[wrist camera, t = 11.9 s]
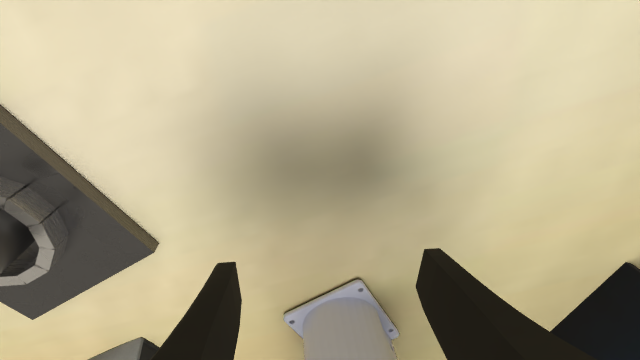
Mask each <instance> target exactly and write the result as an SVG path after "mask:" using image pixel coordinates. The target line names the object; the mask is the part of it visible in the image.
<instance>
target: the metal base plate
mask: <svg viewBox="0 0 640 360" xmlns="http://www.w3.org/2000/svg"><path fill="white" fill-rule="evenodd" d="M0 208H2V209H3V210H5V211H6V212H7V213H9V214H10V215H12V216H13V217H15V218H16V219H17V220H19V221H20V222H22V223H23V224H24V225H26V226H27V227H28V228H29V230H30V232H31V234H32V235H33V237H34V239H35V241H34V242H33V243H32V244H31V245H30V246H29V247H28V248H27V249H26V250H25V251H24V252H23V253H22V254H21V255H20V256H19V257H17V258H16V259H15V260H14V261H13V262H12V263H11V264H10V265H9V266H8V267H7V268H6V269H5V270H4V271H3V272H2V273H1V274H0V302H2V303H3V304H5V305H7V306H9V307H10V308H12V309H14V310H16V311H18V312H19V313H21V314H23V315H25V316H27V317H28V318H30V319H32V320H34V319H35V318H37V317H39V316H41V315H43V314H44V313H46V312H48V311H50V310H52V309H53V308H55V307H57V306H59V305H61V304H62V303H64V302H66V301H68V300H70V299H71V298H73V297H75V296H77V295H79V294H80V293H82V292H84V291H86V290H88V289H89V288H91V287H93V286H95V285H97V284H98V283H100V282H102V281H104V280H106V279H107V278H109V277H111V276H113V275H115V274H116V273H118V272H120V271H122V270H124V269H125V268H127V267H129V266H131V265H133V264H134V263H136V262H138V261H140V260H142V259H143V258H145V257H147V256H149V255H151V254H152V253H154V252H155V250H156V248H157V246H158V244H159V243H158V242H157V241H156V240H155V239H153V238H152V237H151V236H150V235H149V234H148V233H147V232H145V231H144V230H143V229H142V228H141V227H140V226H138V225H137V224H136V223H135V222H134V221H133V220H132V219H130V218H129V217H128V216H127V215H126V214H125V213H124V212H122V211H121V210H120V209H119V208H118V207H117V206H115V205H114V204H113V203H112V202H111V201H110V200H109V199H107V198H106V197H105V196H104V195H103V194H102V193H101V192H99V191H98V190H97V189H96V188H95V187H94V186H93V185H91V184H90V183H89V182H88V181H87V180H86V179H84V178H83V177H82V176H81V175H80V174H79V173H78V172H76V171H75V170H74V169H73V168H72V167H71V166H70V165H68V164H67V163H66V162H65V161H64V160H63V159H61V158H60V157H59V156H58V155H57V154H56V153H55V152H53V151H52V150H51V149H50V148H49V147H48V146H47V145H45V144H44V143H43V142H42V141H41V140H40V139H39V138H37V137H36V136H35V135H34V134H33V133H32V132H30V131H29V130H28V129H27V128H26V127H25V126H24V125H22V124H21V123H20V122H19V121H18V120H17V119H16V118H14V117H13V116H12V115H11V114H10V113H9V112H7V111H6V110H5V109H4V108H3V107H2V106H1V105H0Z"/></svg>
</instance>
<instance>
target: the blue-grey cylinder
mask: <svg viewBox="0 0 640 360" xmlns="http://www.w3.org/2000/svg"><path fill="white" fill-rule="evenodd" d="M34 241H35V239H34V237H33V235H32V234H31V232H30V230H29V228H28V227H27V226H26V225H24V224H23V223H22V222H20V221H19V220H17V219H16V218H15V217H13V216H12V215H10V214H9V213H7V212H6V211H5V210H3V209H2V208H0V274H1V273H2V272H3V271H4V270H5V269H6V268H7V267H8V266H9V265H10V264H11V263H12V262H13V261H14V260H15V259H16V258H17V257H19V256H20V255H21V254H22V253H23V252H24V251H25V250H26V249H27V248H28V247H29V246H30V245H31V244H32V243H33V242H34Z"/></svg>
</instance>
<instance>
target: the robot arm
mask: <svg viewBox="0 0 640 360" xmlns="http://www.w3.org/2000/svg"><path fill="white" fill-rule="evenodd" d="M359 288H360V289H359ZM416 289H417V292H418V295H419V298H420V301H421V304H422V307H423V310H424V312H425V315H426V317H427V319H428V321H429V323H430V325H431V327H432V329H433V331H434V334H435V336H436V338H437V340H438V342H439V344H440V346H441V348H442V350H443V352H444V354H445V356H446V358H447V360H597V359H595V358H594V357H592V356H590V355H588V354H586V353H585V352H583V351H581V350H579V349H578V348H576V347H574V346H572V345H571V344H569V343H567V342H565V341H564V340H562V339H560V338H559V337H557V336H556V335H554V334H552V333H551V332H549V331H548V330H546V329H544V328H543V327H541V326H540V325H538V324H537V323H535V322H534V321H532V320H531V319H529V318H528V317H526V316H525V315H523V314H522V313H520V312H519V311H518V310H516V309H515V308H513V307H512V306H511V305H509V304H508V303H507V302H505V301H504V300H503V299H501V298H500V297H499V296H497V295H496V294H495V293H493V292H492V291H491V290H489V289H488V288H487V287H486V286H484V285H483V284H482V283H481V282H479V281H478V280H477V279H476V278H475V277H473V276H472V275H471V274H470V273H469V272H467V271H466V270H465V269H464V268H463V267H461V266H460V265H459V264H458V263H457V262H455V261H454V260H453V259H452V258H451V257H449V256H448V255H447V254H446V253H445V252H443V251H442V250H441V249H440V248H437V249H424V253H423V257H422V261H421V266H420V270H419V274H418V278H417V283H416ZM241 302H242V299H241V293H240V287H239V281H238V275H237V268H236V262H226V263H218V264H217V265H216V266H215V268H214V270H213V271H212V273H211V275H210V277H209V278H208V280H207V282H206V283H205V285H204V286H203V288H202V290H201V291H200V293H199V294H198V296H197V297H196V299H195V300H194V302H193V303H192V305H191V306H190V308H189V309H188V311H187V312H186V314H185V315H184V317H183V318H182V319H181V321H180V322H179V323H178V325H177V326H176V327H175V329H174V330H173V331H172V333H171V334H170V336H169V337H168V338H167V339H166V341H165V342H164V343H163V345H162V346H161V347H160V348H159V350H158V351H157V352H156V353H155V354H154V356H153V357H152V358H151V359H150V360H233V359H234V354H235V349H236V344H237V338H238V333H239V327H240V315H241ZM284 321H285V322H286V323H287V324H288V325H289V326H290V327H291V328H292V329H293V330H294V331H295V332H296V333H297V334H298V335H299V336H300V337H302V338H303V342H304V357H305V360H398V359H397V356H396V353H395V350H394V347H393V344H392V341H391V340H392V339H395V338H397V337H398V336H399V332H398V330H397V328H396V327H395V326H394V324H393V323H392V321H391V320H390V319H389V317H388V316H387V314H386V313H385V312H384V310H383V309H382V308H381V306H380V305H379V303H378V302H377V301H376V299H375V298H374V297H373V295H372V294H371V292H370V291H369V290H368V288H367V287H366V286H365V284H364V283H363V281H362V280H354V281H352V282H350V283H348V284H346V285H344V286H342V287H340V288H337V289H335V290H333V291H331V292H329V293H327V294H325V295H323V296H321V297H319V298H316V299H314V300H312V301H310V302H308V303H306V304H304V305H302V306H300V307H297V308H295V309H293V310H291V311H289V312H287V313H285V314H284Z"/></svg>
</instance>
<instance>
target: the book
mask: <svg viewBox="0 0 640 360" xmlns="http://www.w3.org/2000/svg"><path fill="white" fill-rule="evenodd" d="M551 333H552V334H554V335H556V336H557V337H559V338H560V339H562V340H564V341H565V342H567V343H569V344H571V345H572V346H574V347H576V348H578V349H579V350H581V351H583V352H585V353H586V354H588V355H590V356H592V357H594V358H595V359H597V360H640V269H638V268H637V267H636V266H634V265H633V264H630V263H627V262H626V263H625V264H623V265H622V266H621V267H620V268H619V269H618V270H617V271H616V272H615V273H614V274H613V275H612V276H610V277H609V278H608V279H607V280H606V281H605V282H604V283H603V284H602V285H601V286H600V287H598V288H597V289H596V290H595V291H594V292H593V293H592V294H591V295H590V296H589V297H588V298H587V299H585V300H584V301H583V302H582V303H581V304H580V305H579V306H578V307H577V308H576V309H575V310H573V311H572V312H571V313H570V314H569V315H568V316H567V317H566V318H565V319H564V320H563V321H562V322H560V323H559V324H558V325H557V326H556V327H555V328H554V329H553V330H552V331H551Z"/></svg>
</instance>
